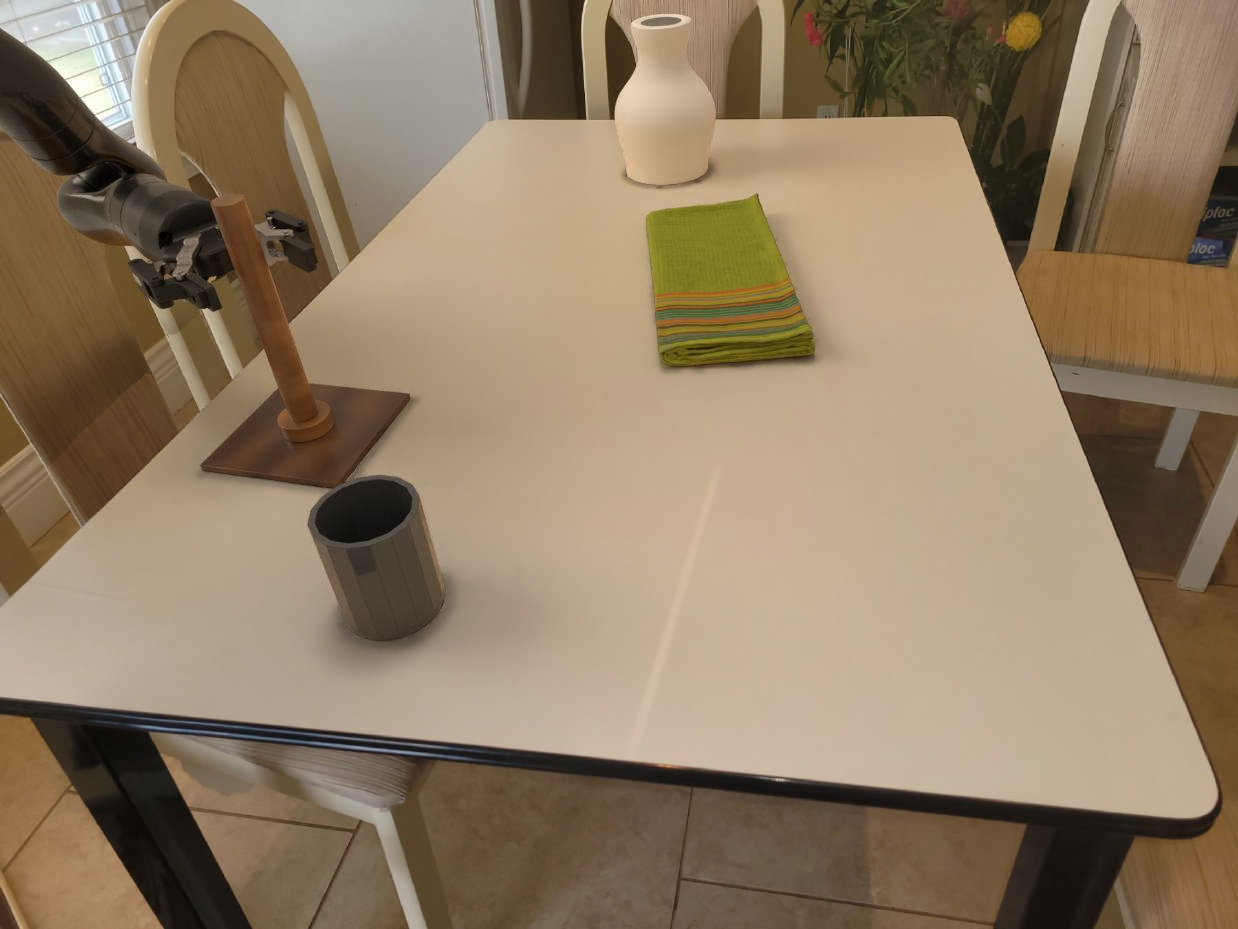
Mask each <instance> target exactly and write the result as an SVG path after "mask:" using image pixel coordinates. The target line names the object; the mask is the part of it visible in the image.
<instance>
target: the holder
mask: <svg viewBox="0 0 1238 929" xmlns="http://www.w3.org/2000/svg"><path fill="white" fill-rule="evenodd" d="M306 524H307V528H308V531H309V534H310V536H311V538H312V541H313V544H314V546H315V549H316V551H317V554H318V556H319V559H320V561H321V564H322V566H323V569H324V572H325V575H326V576H327V579H328V582H329V584H330V587H331V590H332V592H333V594H334V597H335V599H336V603H337V605H338V607H339V610H340V613H341V615H342V617H343V620H344V622H345V625H346V626H347V627H348V628H349V630H350V631H352V632H353V633H354V634H356V635H357V636H359V637H362V638H364V639H368V640H374V641H387V640H388V641H389V640H396V639H399V638H402V637H406V636H407V635H411V634H413V633H415V632H417V631H419V630H421V629H422V628H423V627H425V626H426V625H427V624H428V623H430V622H431V620H433V619H434V618H435V617H436V615H437V614H438V613H439V611H440V610H441V608H442V606H443V603H444V600H445V595H446V592H445V591H446V590H445V586H444V578H443V574H442V571H441V568H440V565H439V561H438V556H437V553H436V550H435V546H434V542H433V538H432V535H431V531H430V528H429V524H428V521H427V517H426V514H425V510H424V506H423V503H422V500H421V495H420V494H419V493H418V491H417V489H416V488H415V486H414V484H413V483H411V482H409V481H407V480H405V479H403V478H401V477H400V476H393V475H387V474H375V475H367V476H359V477H356V478H353V479H351V480H348V481H346V482H345V481H344V482H343V483H342V484H340V485H338V486H336V487H335V488H331V489H330V490H329V491H327V492H325V493H324V494H323V495H322V496H321V497H319V499H318V500H317V501H316V503H315V504H314V505H313V506H312V508H310V511H309V516H308V520H307V523H306Z"/></svg>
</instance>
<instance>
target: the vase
mask: <svg viewBox="0 0 1238 929" xmlns="http://www.w3.org/2000/svg"><path fill="white" fill-rule="evenodd" d="M692 29H693V21H692V18H691V17H690V16H687V15H684V14H678V13H660V14H650V15H645V16H642V17H639V18H636V19H634V20H633V21H632V22H630V31H631V35H632V38H633V41H634V43H635V44H634V45H635V47H636V50H637V62H636V65H635V68H634V71H633V73H632V74H631V76H630V78H629V79H628V81H627V82H626V84H625V85H624V86H623V88H622V89H621V90H620V92H619V94H618V97H617V99H616V102H615V106H614V123H615V129H616V134H617V137H618V141H619V145H620V148H621V151H622V155H623V158H624V163H625V172H626V176H627V177H628V178H629V179H631V180H633V181H634V182H638V183H641V184H644V185H655V186H668V185H677V184H683V183H688V182H690V181H695V180H696V179H698V178H700V177H702V176H704V175H705V174H706V172H707V171H708V169H709V158H710V151H711V148H712V142H713V138H714V133H715V128H716V127H715V126H716V120H717V114H716V113H717V111H716V110H717V109H716V104H715V100H714V97H713V95H712V93H711V92H710V90H709V88H708V86H707V84H706V83H705V82H704V81H703V79H702V78H701V77H700V76H699V75H698V74H697V72H695V70H694V68H693V67H692V66H691V64H690V62H689V58H688V46H689V41H690V38H691V34H692Z"/></svg>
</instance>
